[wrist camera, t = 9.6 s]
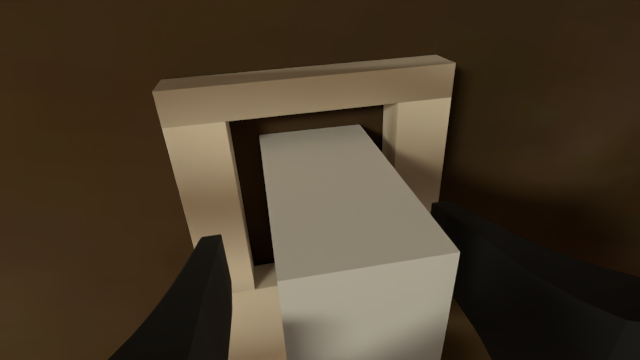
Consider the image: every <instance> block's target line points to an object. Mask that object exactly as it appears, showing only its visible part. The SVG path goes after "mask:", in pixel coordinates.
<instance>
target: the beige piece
mask: <svg viewBox="0 0 640 360" xmlns="http://www.w3.org/2000/svg"><path fill="white" fill-rule="evenodd" d="M455 65H456V63H454V62H452V61H450V60H447V59H445V58H442V57H440V56H438V55H429V56H418V57H407V58H396V59H385V60H374V61H363V62H352V63H341V64H330V65H319V66H307V67H296V68H285V69H274V70H263V71H252V72H241V73H230V74H219V75H208V76H197V77H186V78H175V79H164V80H160V82H159V83H158V84H157V86H156V87H155V89H154V90H153V91H152V93H153V96H154V100H155V104H156V108H157V111H158V115H159V119H160V123H161V126H162V130H163V134H164V138H165V141H166V145H167V149H168V152H169V156H170V160H171V164H172V167H173V171H174V175H175V179H176V182H177V186H178V190H179V194H180V197H181V201H182V205H183V208H184V212H185V216H186V220H187V223H188V227H189V231H190V235H191V238H192V242H193V246H194V249H195V247H196V245H197V243H198V241H199V240H200V239H201V237H205V236H212V235H218V234H221V235H222V240H223V244H224V249H225V254H226V258H227V263H228V267H229V272H230V277H231V281H232V321H231V333H230V344H229V355H228V360H287V356H286V348H285V340H284V332H283V324H282V316H281V308H280V300H279V292H278V284H277V276H276V268H275V263H270V264H264V265H258V266H254V263H253V258H252V252H251V246H250V240H249V235H248V229H247V223H246V217H245V212H244V206H243V200H242V194H241V189H240V183H239V177H238V172H237V166H236V160H235V154H234V149H233V143H232V137H231V131H230V126H229V121H236V120H245V119H254V118H263V117H273V116H282V115H291V114H301V113H310V112H319V111H328V110H338V109H347V108H356V107H366V106H375V105H384V113H383V140H382V154H383V155H384V156H385V157H386V159H387V160H388V161H389V162H390V164H391V165H392V166H393V167H394V169H395V170H396V171H397V173H398V174H399V175H400V176H401V178H402V179H403V180H404V181H405V183H406V184H407V185H408V186H409V188H410V189H411V190H412V192H413V193H414V194H415V195H416V197H417V198H418V199H419V200H420V202H421V203H422V204H423V205H424V207H425V208H426V209H427V211H428V212H429V213H431V205H432V203H434V202H438V200H439V192H440V184H441V176H442V168H443V160H444V152H445V144H446V137H447V129H448V121H449V113H450V105H451V97H452V89H453V81H454V73H455Z"/></svg>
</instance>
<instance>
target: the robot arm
mask: <svg viewBox="0 0 640 360" xmlns="http://www.w3.org/2000/svg"><path fill="white" fill-rule="evenodd" d="M430 214H431V216H432V217H433V218H434V219H435V221H436V222H437V223H438V225H439V226H440V227H441V228H442V230H443V231H444V232H445V233H446V235H447V236H448V237H449V238H450V240H451V241H452V242H453V244H454V245H455V246H456V247H457V249H458V250H459V251H460V256H459V262H458V267H457V273H456V278H455V284H454V289H453V294H452V295H453V297H454V298H455V300H456V301H457V303H458V304H459V306H460V307H461V309H462V310H463V312H464V313H465V315H466V316H467V318H468V319H469V321H470V322H471V324H472V325H473V327H474V328H475V330H476V332H477V333H478V335H479V336H480V338H481V340H482V342H483V344H484V346H485V347H486V349H487V351H488V353H489V355H490V357H491V359H492V360H640V277H636V276H632V275H628V274H624V273H620V272H617V271H613V270H609V269H606V268H603V267H599V266H596V265H593V264H590V263H586V262H583V261H580V260H577V259H574V258H571V257H569V256H566V255H563V254H561V253H558V252H555V251H553V250H550V249H548V248H545V247H543V246H540V245H538V244H536V243H533V242H531V241H529V240H527V239H525V238H522V237H520V236H518V235H516V234H514V233H512V232H510V231H508V230H506V229H504V228H502V227H500V226H498V225H496V224H494V223H492V222H490V221H488V220H486V219H484V218H482V217H480V216H478V215H477V214H475V213H473V212H471V211H469V210H467V209H465V208H463V207H461V206H459V205H457V204H455V203H453V202H451V201H448V200H447V201H440V202H434V203H432V205H431V213H430ZM231 321H232V281H231V277H230V272H229V267H228V263H227V258H226V254H225V249H224V244H223V240H222V235H221V234H218V235H212V236H205V237H201V239H200V240H199V241H198V243H197V245H196V247H195V249H194V250H193V252H192V254H191V256H190V257H189V259H188V261H187V262H186V264H185V266H184V267H183V269H182V270H181V272H180V273H179V275H178V277H177V278H176V280H175V281H174V283H173V284H172V286H171V287H170V289H169V290H168V291H167V293H166V294H165V295H164V297H163V298H162V299H161V301H160V302H159V304H158V305H157V306H156V308H155V309H154V310H153V311H152V313H151V314H150V315H149V316H148V317H147V319H146V320H145V321H144V322H143V323H142V325H141V326H140V327H139V328H138V329H137V330H136V331H135V333H134V334H133V335H132V336H131V337H130V338H129V339H128V340H127V341H126V342H125V343H124V344H123V345H122V346H121V347H120V348H119V349H118V350H117V351H116V352H115V353H114V354H113V355H112V356H111V357H110V358H109V359H108V360H228V355H229V344H230V333H231Z"/></svg>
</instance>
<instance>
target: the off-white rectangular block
mask: <svg viewBox="0 0 640 360" xmlns="http://www.w3.org/2000/svg"><path fill="white" fill-rule="evenodd" d="M259 138H260V146H261V155H262V163H263V171H264V179H265V187H266V195H267V203H268V211H269V220H270V228H271V236H272V244H273V252H274V260H275V268H276V276H277V284H278V292H279V300H280V308H281V316H282V324H283V332H284V340H285V348H286V356H287V360H441V354H442V349H443V343H444V338H445V333H446V327H447V322H448V316H449V311H450V305H451V300H452V294H453V289H454V284H455V278H456V273H457V267H458V262H459V256H460V251H459V250H458V249H457V247H456V246H455V245H454V244H453V242H452V241H451V240H450V238H449V237H448V236H447V235H446V233H445V232H444V231H443V230H442V228H441V227H440V226H439V225H438V223H437V222H436V221H435V219H434V218H433V217H432V216H431V214H430V213H429V212H428V211H427V209H426V208H425V207H424V205H423V204H422V203H421V202H420V200H419V199H418V198H417V197H416V195H415V194H414V193H413V192H412V190H411V189H410V188H409V186H408V185H407V184H406V183H405V181H404V180H403V179H402V178H401V176H400V175H399V174H398V173H397V171H396V170H395V169H394V167H393V166H392V165H391V164H390V162H389V161H388V160H387V159H386V157H385V156H384V155H383V154H382V152H381V151H380V150H379V148H378V147H377V146H376V145H375V143H374V142H373V141H372V140H371V138H370V137H369V136H368V135H367V133H366V132H365V131H364V129H363V128H362V127H361V126H360V125H351V126H341V127H332V128H322V129H313V130H303V131H294V132H284V133H275V134H265V135H259Z"/></svg>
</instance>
